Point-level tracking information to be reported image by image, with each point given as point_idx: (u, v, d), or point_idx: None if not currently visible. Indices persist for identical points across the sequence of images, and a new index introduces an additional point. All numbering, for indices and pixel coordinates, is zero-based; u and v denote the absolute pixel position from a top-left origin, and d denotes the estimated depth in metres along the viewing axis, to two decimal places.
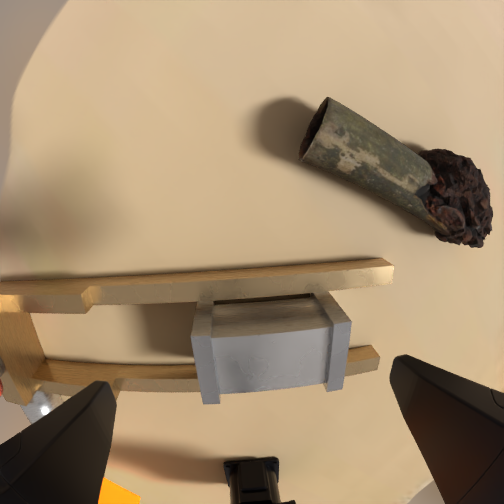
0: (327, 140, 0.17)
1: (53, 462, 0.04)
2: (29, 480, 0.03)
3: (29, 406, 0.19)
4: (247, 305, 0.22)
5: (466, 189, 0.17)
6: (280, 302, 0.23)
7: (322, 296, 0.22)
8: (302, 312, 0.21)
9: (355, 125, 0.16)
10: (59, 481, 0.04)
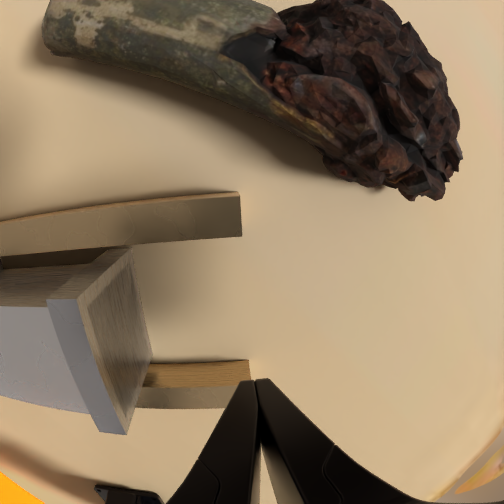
0: (58, 8, 0.06)
1: None
2: None
3: None
4: (22, 270, 0.12)
5: (366, 40, 0.07)
6: (58, 268, 0.12)
7: (105, 258, 0.11)
8: (58, 282, 0.10)
9: None
10: (256, 500, 0.04)
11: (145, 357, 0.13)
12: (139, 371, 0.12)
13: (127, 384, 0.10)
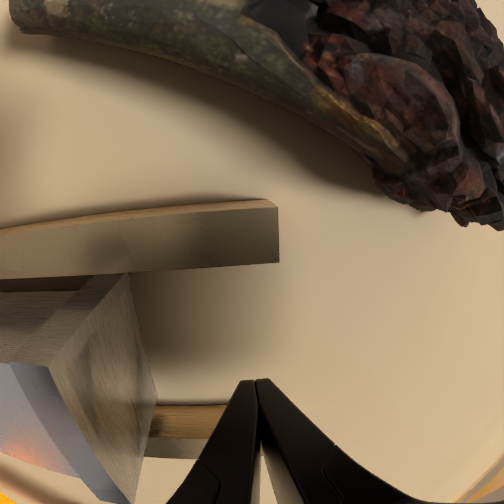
0: None
1: None
2: None
3: None
4: None
5: (444, 19, 0.04)
6: (37, 295, 0.09)
7: (93, 288, 0.08)
8: (34, 319, 0.07)
9: None
10: (256, 500, 0.04)
11: (149, 403, 0.10)
12: (143, 424, 0.09)
13: (129, 447, 0.07)
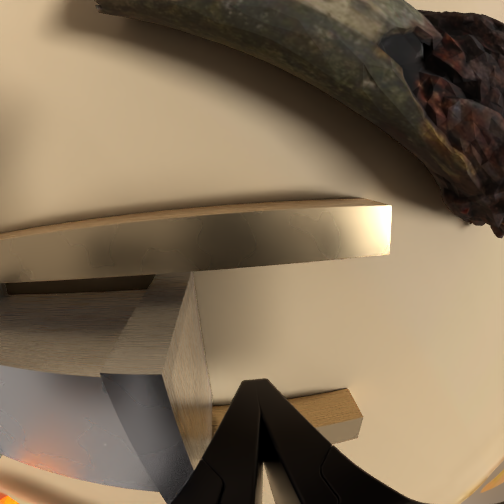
0: None
1: None
2: None
3: None
4: (34, 298, 0.09)
5: None
6: (88, 296, 0.09)
7: (164, 286, 0.09)
8: (96, 322, 0.07)
9: None
10: (259, 500, 0.04)
11: (209, 404, 0.11)
12: (209, 425, 0.09)
13: None
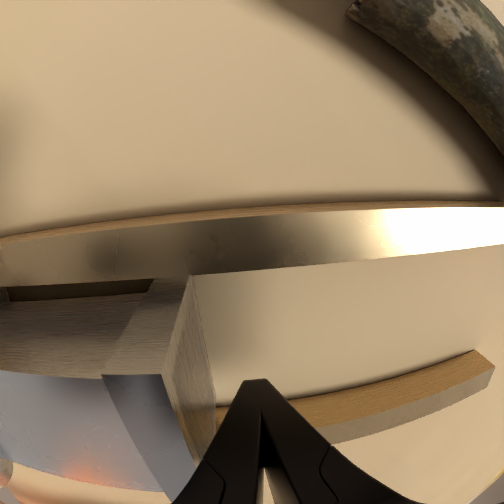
0: None
1: None
2: None
3: None
4: (36, 305, 0.09)
5: None
6: (89, 301, 0.09)
7: (163, 288, 0.09)
8: (97, 326, 0.07)
9: None
10: (260, 500, 0.04)
11: (212, 404, 0.11)
12: (212, 425, 0.09)
13: None
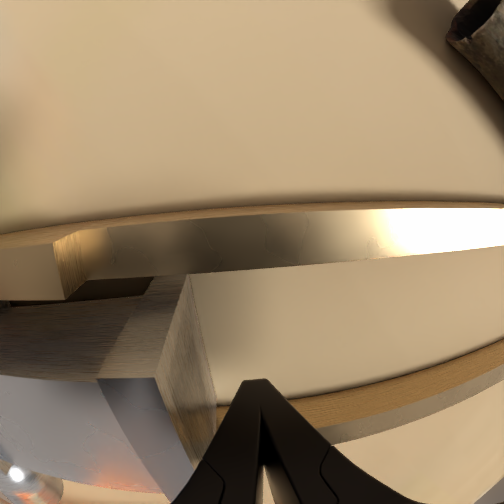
0: None
1: None
2: None
3: None
4: (36, 309, 0.09)
5: None
6: (87, 304, 0.09)
7: (159, 291, 0.09)
8: (95, 330, 0.07)
9: None
10: (260, 500, 0.04)
11: (212, 405, 0.11)
12: (212, 426, 0.09)
13: None
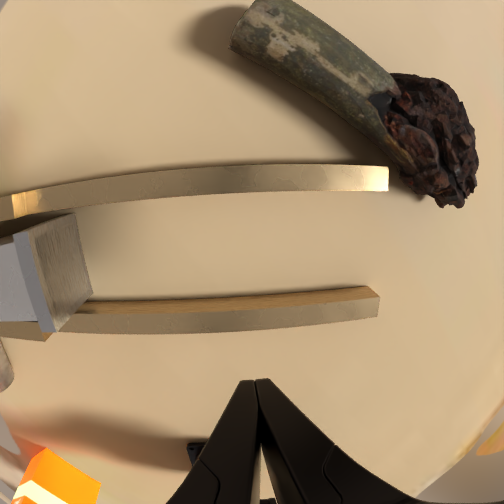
0: (257, 19, 0.12)
1: None
2: None
3: None
4: (8, 236, 0.17)
5: (441, 113, 0.13)
6: None
7: (55, 218, 0.16)
8: None
9: (295, 10, 0.12)
10: (255, 500, 0.04)
11: (85, 292, 0.18)
12: (76, 297, 0.17)
13: (62, 299, 0.15)
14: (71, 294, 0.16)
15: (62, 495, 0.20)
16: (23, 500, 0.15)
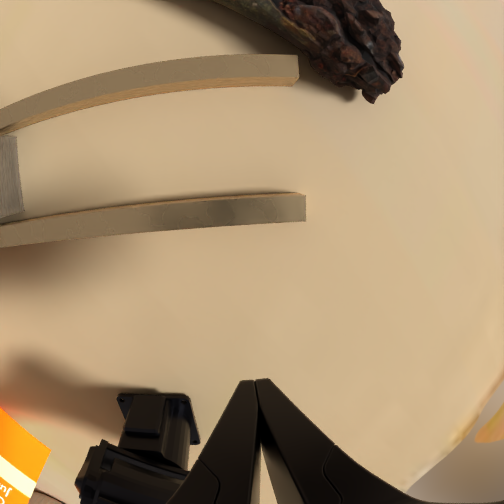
0: None
1: None
2: None
3: None
4: None
5: None
6: None
7: None
8: None
9: None
10: (256, 501, 0.04)
11: (15, 206, 0.16)
12: (4, 206, 0.15)
13: None
14: None
15: (7, 455, 0.18)
16: None
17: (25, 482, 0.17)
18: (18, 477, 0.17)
